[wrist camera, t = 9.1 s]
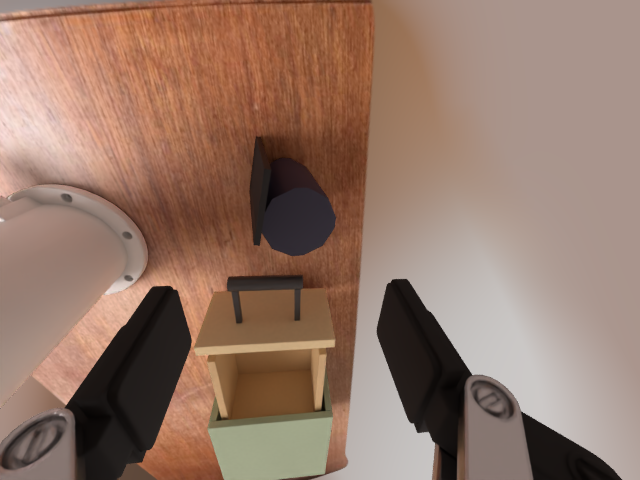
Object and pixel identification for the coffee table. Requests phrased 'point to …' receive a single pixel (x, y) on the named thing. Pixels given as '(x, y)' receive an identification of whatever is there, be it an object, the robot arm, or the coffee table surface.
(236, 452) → the cabinet
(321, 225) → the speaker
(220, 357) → the drawer
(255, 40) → the coffee table surface
